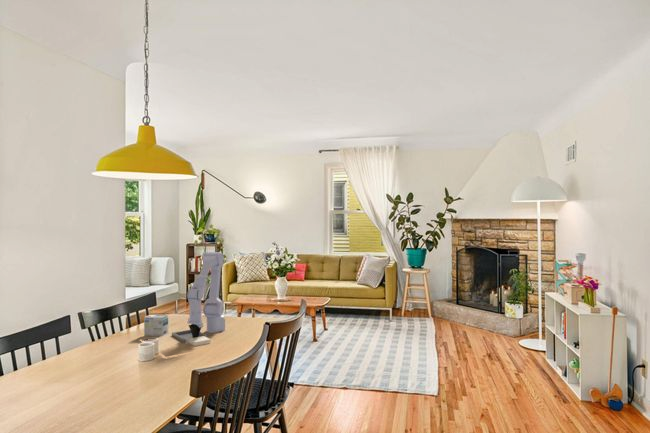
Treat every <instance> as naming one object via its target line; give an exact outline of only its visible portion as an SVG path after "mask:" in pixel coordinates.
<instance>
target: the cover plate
mask: <svg viewBox="0 0 650 433" xmlns="http://www.w3.org/2000/svg"><path fill="white" fill-rule="evenodd" d="M211 341H212V339H211V338H210V337H208V336H207V337H205V336H201V337H195V338H190V339H189V342H188V343H189V344H190V345H192V346H194V347H198V346H203V345H208V344H211Z"/></svg>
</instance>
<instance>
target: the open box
mask: <svg viewBox="0 0 650 433" xmlns="http://www.w3.org/2000/svg"><path fill="white" fill-rule="evenodd" d="M171 336H172V337H173V338H174V339H177V340H178V341H181V343H184V344H185V343H189V339H190V338H193V337H192V332H191V330H190V329H186V330H180V331H179V330H178V331H175V332H171ZM201 336H205V337H207V338H208V335H207V334H205V333H202V332H201V331H200V333H199V337H201Z"/></svg>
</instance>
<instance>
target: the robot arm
mask: <svg viewBox="0 0 650 433" xmlns="http://www.w3.org/2000/svg"><path fill="white" fill-rule="evenodd" d="M224 258H225V257H224V255H223V253H222V252H221V251H205V252H203V254H202V266H201V268H200V273H199V275H196V276H195V279H194V282H193V284H192V285H191V286H192V287H191V288H189V289H188V290H187V293H186V297H187V300H188V304H189V318H187V324H189V325H188V327H189V330H191V332H192V337H193V338H195V337H199V333H200V332H201V331H202V330H201V329H202V328H203V327H204V322H203V320H202V313H203V315H204V317H206V333H211V334H214V333H218V332H223V331H226V318H225V316H224V315H223V314H224V309H225V307H224V302H223V300H221V298H220V297H219V296H220V286H221V284H220V283H221V274H222V273H221V272H222V268H223V267H224V260H225V259H224ZM210 270H211V271H210ZM209 272H210V281H209V282H210V284H209V294H208V296H209V297H208V299H206V300H205V301H204V305H203V308H202V300H203V298H204V292H205V286H206V284H207V281H208V278H207V276H208V275H209Z"/></svg>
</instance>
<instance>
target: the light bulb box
mask: <svg viewBox="0 0 650 433" xmlns="http://www.w3.org/2000/svg"><path fill="white" fill-rule="evenodd" d="M143 322H144V323H143V326H144V327H143V330H144V331H143V332H144V334H143V335H144V337H150V336H153V337H154V336H156V337H157V336H161V337H162V336H163V337H164V336H165V335H167V334H168V333H169V314H148V315H146V316H144V317H143Z"/></svg>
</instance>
